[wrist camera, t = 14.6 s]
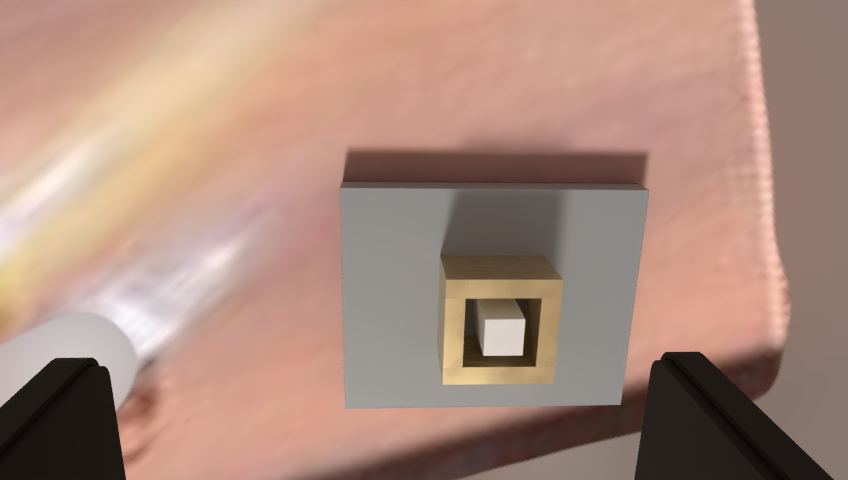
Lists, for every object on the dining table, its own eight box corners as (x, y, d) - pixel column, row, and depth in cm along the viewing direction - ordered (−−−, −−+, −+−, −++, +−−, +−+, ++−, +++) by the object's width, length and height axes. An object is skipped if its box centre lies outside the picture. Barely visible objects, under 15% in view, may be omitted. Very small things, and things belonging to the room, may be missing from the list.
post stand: (342, 181, 40) (333, 207, 33) (637, 183, 41) (685, 209, 34) (346, 393, 44) (339, 453, 38) (610, 389, 46) (648, 447, 39)
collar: (439, 255, 39) (446, 279, 35) (544, 255, 40) (563, 279, 36) (436, 350, 41) (442, 384, 37) (536, 349, 42) (553, 383, 38)
